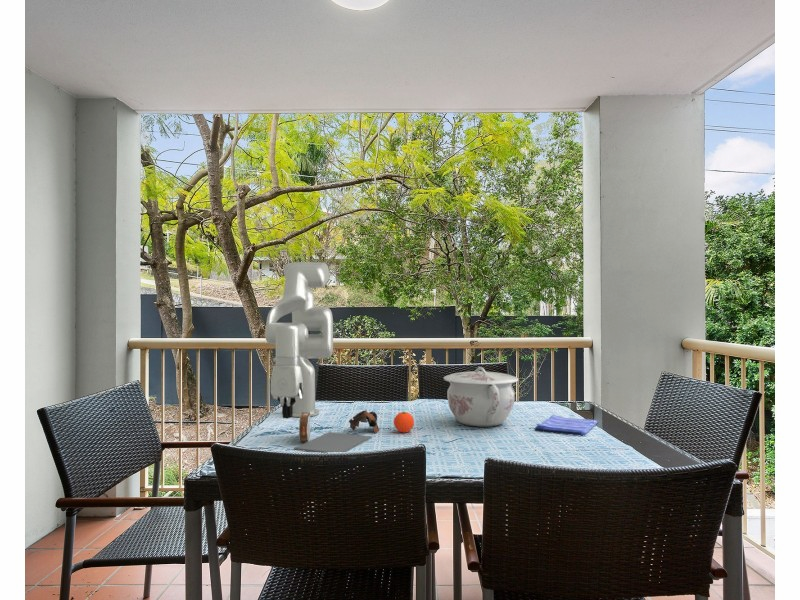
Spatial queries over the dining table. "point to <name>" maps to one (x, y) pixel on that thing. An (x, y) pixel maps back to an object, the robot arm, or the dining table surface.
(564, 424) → the dish towel
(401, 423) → the clementine
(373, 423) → the pottery mug
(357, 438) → the mat
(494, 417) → the chamber pot
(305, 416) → the tin
